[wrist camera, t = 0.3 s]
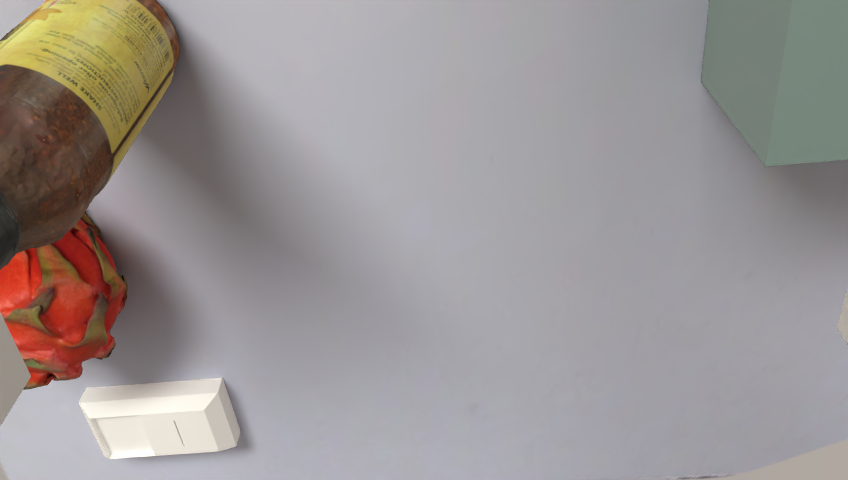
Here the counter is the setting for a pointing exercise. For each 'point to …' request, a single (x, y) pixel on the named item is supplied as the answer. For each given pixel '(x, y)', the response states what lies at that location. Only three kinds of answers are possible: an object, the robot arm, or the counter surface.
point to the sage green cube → (781, 76)
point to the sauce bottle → (74, 108)
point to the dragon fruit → (62, 303)
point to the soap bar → (161, 418)
